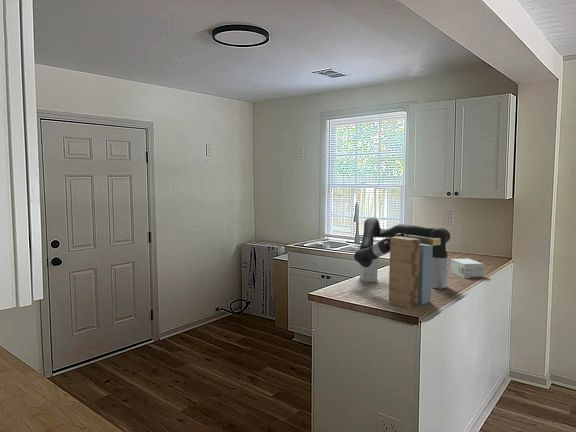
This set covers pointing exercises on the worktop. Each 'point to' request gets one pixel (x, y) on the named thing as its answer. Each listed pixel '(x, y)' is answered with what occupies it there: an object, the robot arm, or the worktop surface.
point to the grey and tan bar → (425, 239)
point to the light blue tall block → (425, 274)
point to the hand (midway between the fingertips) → (406, 234)
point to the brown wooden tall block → (404, 271)
